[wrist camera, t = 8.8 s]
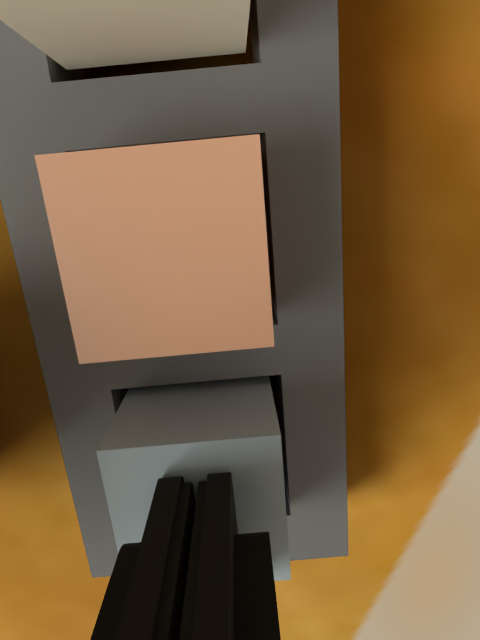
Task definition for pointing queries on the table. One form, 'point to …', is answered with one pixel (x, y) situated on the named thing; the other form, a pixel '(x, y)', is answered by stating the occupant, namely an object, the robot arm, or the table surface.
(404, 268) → the table surface
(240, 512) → the key slate
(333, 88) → the keypad
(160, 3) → the key cream
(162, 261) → the key terracotta
